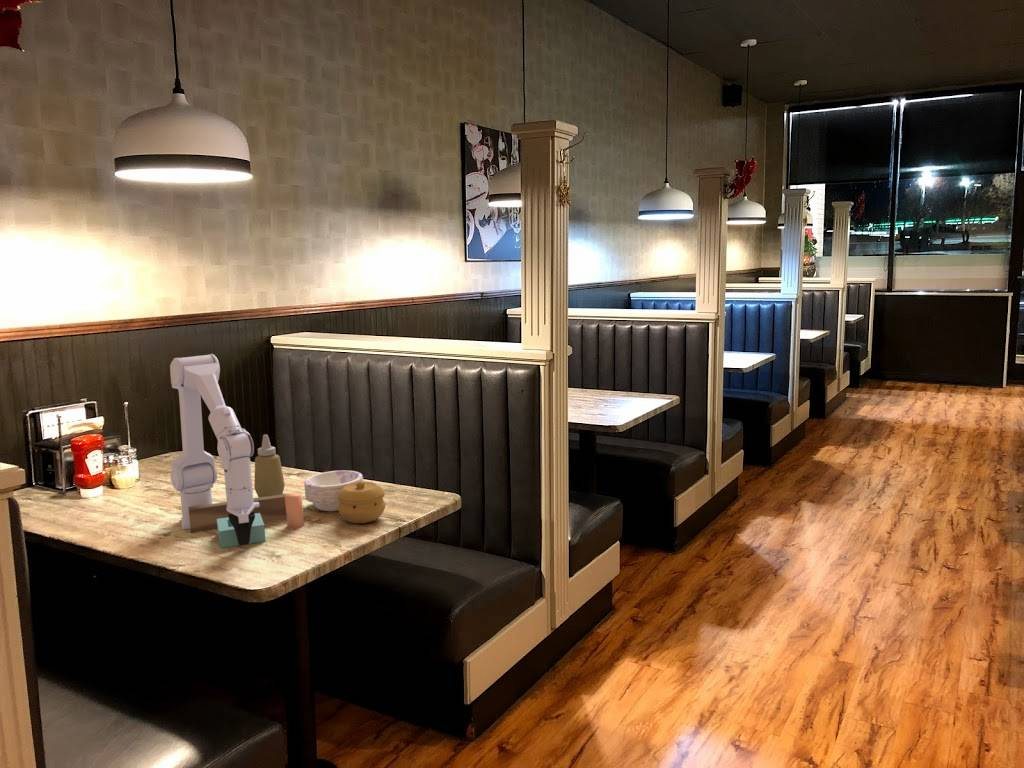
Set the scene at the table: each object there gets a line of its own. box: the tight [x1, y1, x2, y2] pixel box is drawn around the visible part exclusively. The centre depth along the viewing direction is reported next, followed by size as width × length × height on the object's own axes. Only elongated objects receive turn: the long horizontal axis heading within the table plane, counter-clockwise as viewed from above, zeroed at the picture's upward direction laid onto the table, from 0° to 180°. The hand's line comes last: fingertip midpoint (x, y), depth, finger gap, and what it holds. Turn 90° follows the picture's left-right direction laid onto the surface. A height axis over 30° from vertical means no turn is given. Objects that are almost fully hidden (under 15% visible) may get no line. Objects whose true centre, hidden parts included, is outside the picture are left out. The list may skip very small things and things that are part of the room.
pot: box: [337, 481, 387, 524], centre depth 209 cm, size 12×12×10 cm
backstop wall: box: [188, 493, 287, 534], centre depth 208 cm, size 2×24×6 cm, turn 112°
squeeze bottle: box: [253, 434, 286, 498], centre depth 228 cm, size 8×8×18 cm
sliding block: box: [216, 513, 267, 549], centre depth 198 cm, size 10×10×4 cm
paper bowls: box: [303, 469, 364, 512], centre depth 221 cm, size 15×15×8 cm
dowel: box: [285, 492, 305, 529], centre depth 206 cm, size 4×4×8 cm
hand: (244, 544), depth 191 cm, fingers closed
